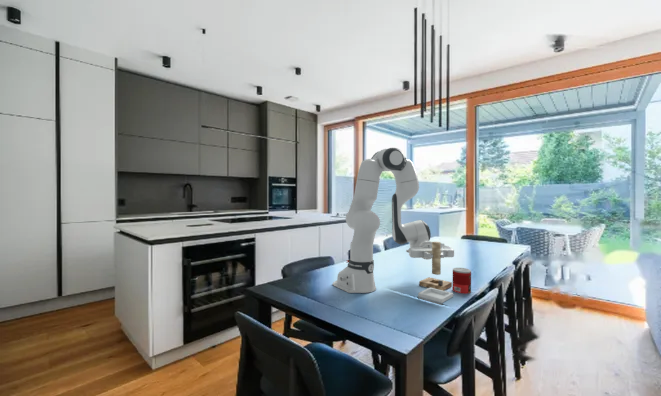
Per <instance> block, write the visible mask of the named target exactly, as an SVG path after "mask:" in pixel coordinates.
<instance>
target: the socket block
mask: <svg viewBox="0 0 661 396" xmlns="http://www.w3.org/2000/svg"><path fill="white" fill-rule="evenodd" d="M418 285H419V286H420V287H424V288H427V289H428V288H435V289H439V290H443V291H446V290H447V289H449V288H451V287H452V288H453V281H447V280H443V279H439V278H436V277H435V278H434V277H426V278H424V279H421V280H419V283H418Z"/></svg>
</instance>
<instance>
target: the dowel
mask: <svg viewBox="0 0 661 396" xmlns="http://www.w3.org/2000/svg"><path fill="white" fill-rule="evenodd" d="M431 242H432V254H433V258H431V274H432V275H436V276H437V275H439V276H440V275H441V273H442V271H441V269H442V268H441V263H442V262H441V261H442V260H441V259H442V258H441V243H442V242H441V241H431Z"/></svg>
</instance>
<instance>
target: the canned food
mask: <svg viewBox="0 0 661 396" xmlns="http://www.w3.org/2000/svg"><path fill="white" fill-rule="evenodd" d="M452 291H453V292H454V293H458V294H463V295H464V294H471V293H472V270H471V269H468V268H467V267H466V268H465V267H453V268H452Z"/></svg>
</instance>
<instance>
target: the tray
mask: <svg viewBox="0 0 661 396" xmlns="http://www.w3.org/2000/svg"><path fill="white" fill-rule="evenodd" d="M417 294H418V295H417V298H418V299H419V300H422V301H425V302H430V303H433V304H437V305H440V306H443V305H444V303H445V302H447V301H448V300H450V299H452V298H453V297H454V292H450V291H448V290H447V291H446V290H444V291H443V290H439V289H435V288H428V287H427V288H426V289H423V290H421V291H420V292H418V293H417Z"/></svg>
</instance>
